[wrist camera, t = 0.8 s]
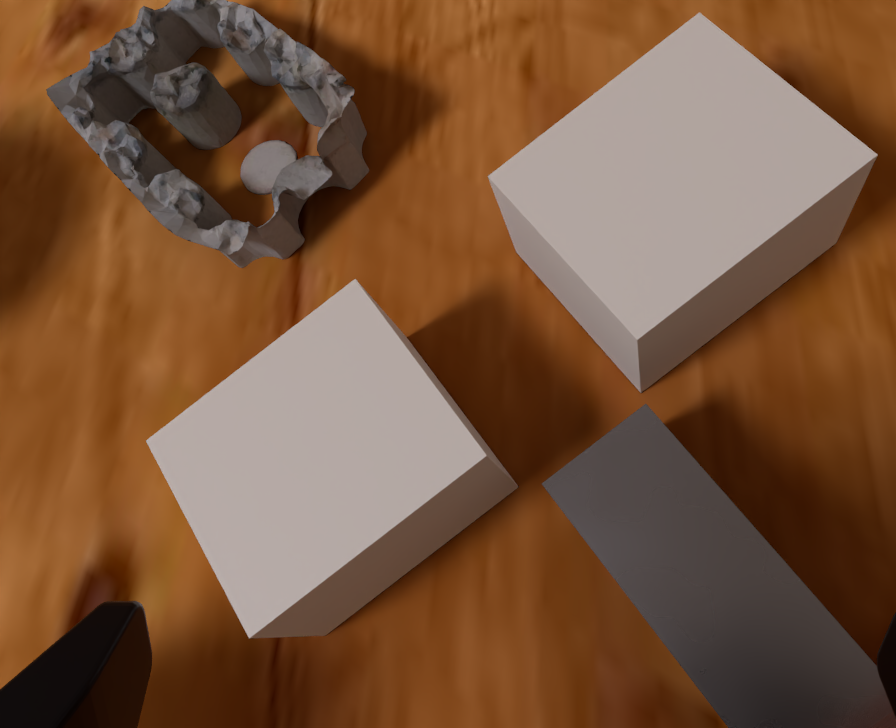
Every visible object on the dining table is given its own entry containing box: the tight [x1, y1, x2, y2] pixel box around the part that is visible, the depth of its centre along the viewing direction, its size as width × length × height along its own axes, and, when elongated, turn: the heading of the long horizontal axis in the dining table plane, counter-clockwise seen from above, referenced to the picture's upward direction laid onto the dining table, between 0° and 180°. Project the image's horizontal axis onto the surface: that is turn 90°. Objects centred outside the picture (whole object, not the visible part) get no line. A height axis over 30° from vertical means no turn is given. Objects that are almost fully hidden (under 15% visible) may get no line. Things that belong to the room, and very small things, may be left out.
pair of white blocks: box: [146, 13, 878, 638], centre depth 21 cm, size 6×18×4 cm, turn 125°
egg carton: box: [46, 0, 369, 268], centre depth 27 cm, size 11×8×4 cm
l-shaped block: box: [542, 404, 896, 728], centre depth 17 cm, size 9×5×5 cm, turn 35°
